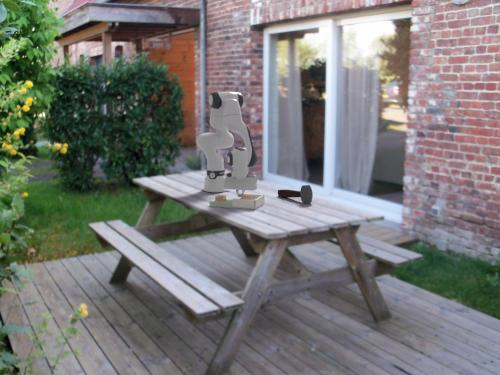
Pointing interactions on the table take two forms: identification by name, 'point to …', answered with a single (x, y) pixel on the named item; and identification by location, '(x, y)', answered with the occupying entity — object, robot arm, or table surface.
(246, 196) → the tile
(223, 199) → the tile
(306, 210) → the table surface
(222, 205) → the board
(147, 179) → the table surface
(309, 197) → the hammer
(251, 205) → the tray
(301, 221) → the table surface
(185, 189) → the table surface
